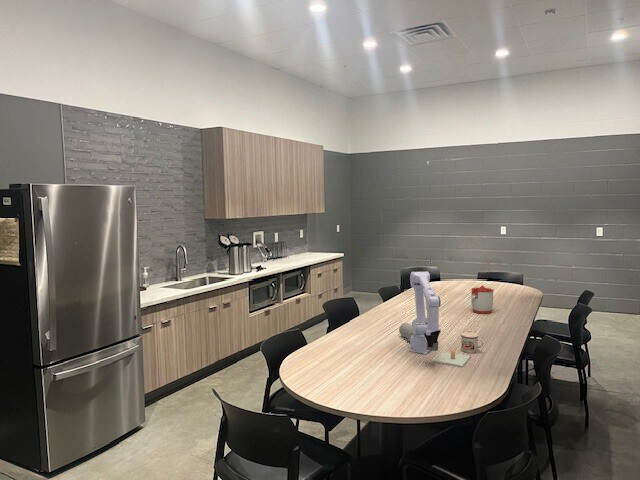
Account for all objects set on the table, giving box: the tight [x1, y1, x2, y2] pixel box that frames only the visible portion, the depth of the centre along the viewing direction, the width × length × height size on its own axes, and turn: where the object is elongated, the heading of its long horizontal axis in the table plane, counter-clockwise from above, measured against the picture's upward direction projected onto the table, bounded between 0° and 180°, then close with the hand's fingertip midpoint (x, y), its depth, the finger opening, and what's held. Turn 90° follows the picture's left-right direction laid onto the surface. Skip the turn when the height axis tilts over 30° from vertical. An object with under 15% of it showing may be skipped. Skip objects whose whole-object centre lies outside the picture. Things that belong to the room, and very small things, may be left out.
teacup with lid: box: [460, 329, 485, 354], centre depth 261 cm, size 12×9×12 cm
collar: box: [427, 340, 439, 352], centre depth 242 cm, size 6×6×4 cm
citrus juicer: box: [470, 285, 494, 315], centre depth 345 cm, size 16×17×20 cm
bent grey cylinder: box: [398, 322, 413, 343], centre depth 282 cm, size 18×11×20 cm
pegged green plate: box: [434, 348, 471, 368], centre depth 246 cm, size 14×16×6 cm
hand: (432, 345), depth 242 cm, fingers closed on collar, 6 cm apart
